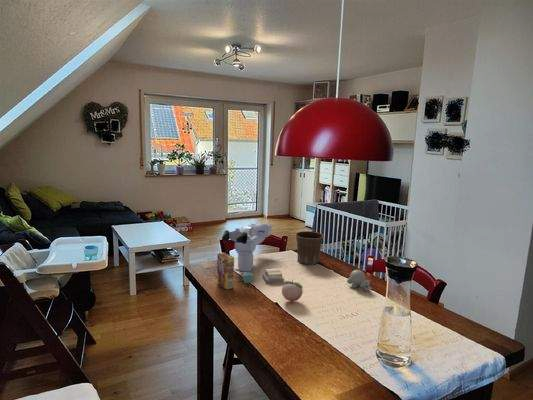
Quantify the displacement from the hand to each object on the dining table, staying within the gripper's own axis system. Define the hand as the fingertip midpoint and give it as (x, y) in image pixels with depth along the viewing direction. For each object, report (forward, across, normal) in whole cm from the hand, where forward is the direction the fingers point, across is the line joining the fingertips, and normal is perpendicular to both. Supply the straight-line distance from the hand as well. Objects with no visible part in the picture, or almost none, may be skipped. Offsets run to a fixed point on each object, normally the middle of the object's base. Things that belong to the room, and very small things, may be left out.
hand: (229, 239), depth 164 cm
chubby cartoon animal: (-19, +61, +20) cm, 67 cm away
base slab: (-13, +19, +21) cm, 31 cm away
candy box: (+3, 0, +22) cm, 22 cm away
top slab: (-13, +19, +19) cm, 30 cm away
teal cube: (-6, +8, +21) cm, 24 cm away
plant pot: (-46, +30, +18) cm, 58 cm away
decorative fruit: (+7, +34, +23) cm, 41 cm away
